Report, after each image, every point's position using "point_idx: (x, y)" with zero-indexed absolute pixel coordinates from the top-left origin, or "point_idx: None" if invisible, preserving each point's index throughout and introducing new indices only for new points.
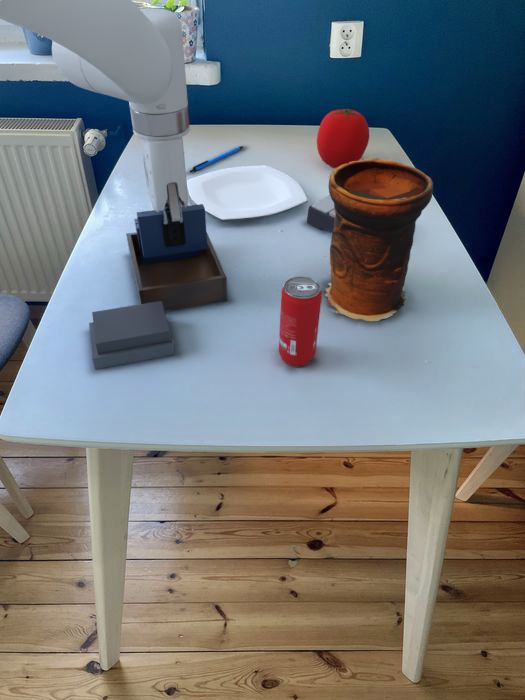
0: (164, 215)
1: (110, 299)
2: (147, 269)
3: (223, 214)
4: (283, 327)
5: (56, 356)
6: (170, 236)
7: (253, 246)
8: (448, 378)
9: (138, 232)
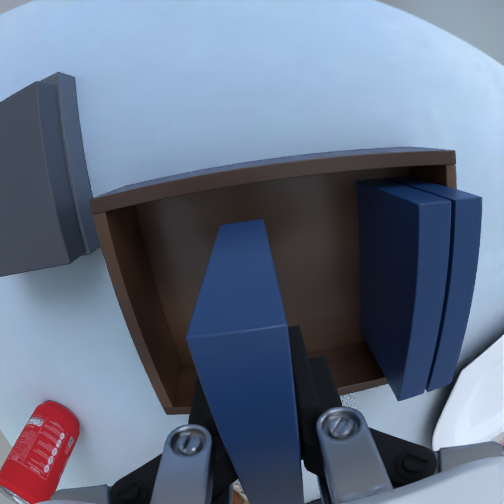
0: (158, 481)
1: (203, 91)
2: (329, 194)
3: (473, 372)
4: (18, 441)
5: (30, 37)
6: (194, 394)
7: (370, 412)
8: (77, 485)
9: (409, 204)
